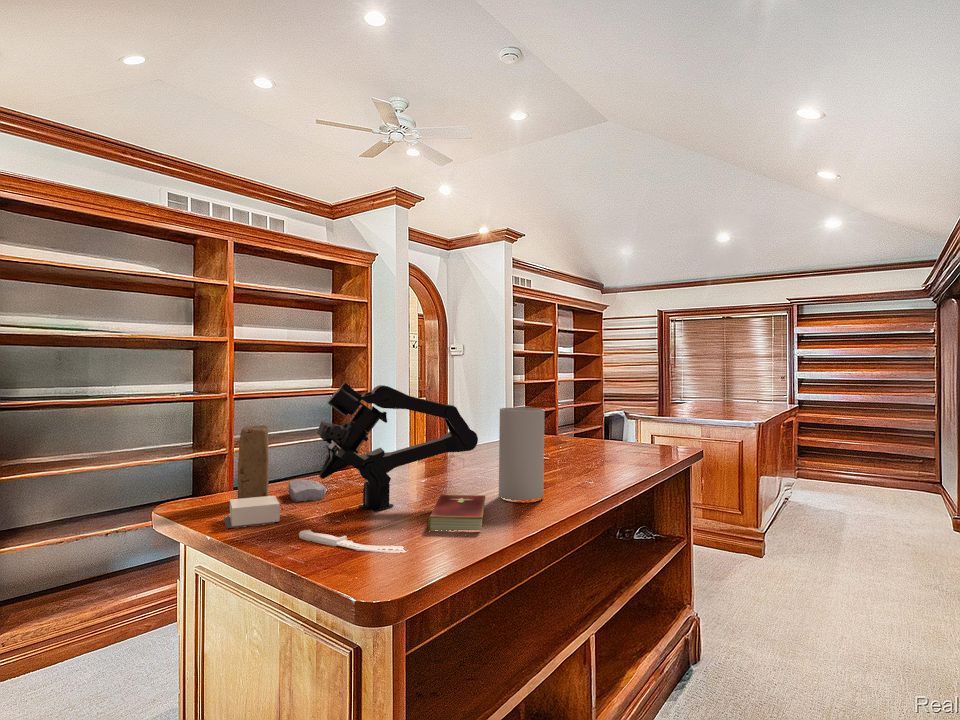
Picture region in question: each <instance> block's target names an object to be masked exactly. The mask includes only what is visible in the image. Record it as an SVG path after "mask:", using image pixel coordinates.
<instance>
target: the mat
mask: <svg viewBox="0 0 960 720" xmlns="http://www.w3.org/2000/svg"><path fill="white" fill-rule="evenodd" d="M224 520H225V521H224ZM223 521H224V525H225V526H226V527H225V526H224V527H225V529H226V528H227V529H226V530H229V529H228V528H234V529H238V528H237V527H242V528H245V527H244V526H251V527H255V526H254V525H260V526H264V525H263V524H269V525H274V524H275V522H268V523H259V524H250V525H241V526H232V525H231V521H230V515H229V516H224V517H223Z"/></svg>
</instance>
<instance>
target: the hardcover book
mask: <svg viewBox="0 0 960 720" xmlns="http://www.w3.org/2000/svg"><path fill="white" fill-rule="evenodd" d="M485 502H486V495H477V494H476V495H475V494H474V495H473V494H471V495H470V494H440V495H439V497H438V499H437V501H436V503H435V505H434V507H433V509H432V512H431V513H430V515H429V518H428V521H427V523H428V524H427V528H428V532H429V531H435V530H438V531H441V530H442V531H446V530H447V531H449V530H451V531H454V530H457V531H458V530H481V531H482V527H481V525H482V526H483V518H484V511H485Z"/></svg>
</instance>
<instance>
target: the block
mask: <svg viewBox="0 0 960 720" xmlns="http://www.w3.org/2000/svg"><path fill="white" fill-rule="evenodd" d="M269 448H270V447H269V428H268V426H267V425H247V426H244V427H243V428H241V430H240V435H239V443H238V456H237V457H238V459H237V460H238V462H237V463H238V464H237V499H242V498H253V497H264V496H269V459H270V458H269V451H270V450H269Z"/></svg>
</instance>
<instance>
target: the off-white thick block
mask: <svg viewBox="0 0 960 720" xmlns="http://www.w3.org/2000/svg"><path fill="white" fill-rule="evenodd" d="M280 507H281V503H280V501H279V500H278V498H277V497H276V495H268V496H264V497H253V498H242V499H238V498H234V499H233V498H231V499H229V516H230V521H231V525H232V526H241V525H250V524H259V523H268V522H274V523H275V522H280V516H281V514H280V513H281V512H280V511H281V510H280V509H281V508H280Z"/></svg>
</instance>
